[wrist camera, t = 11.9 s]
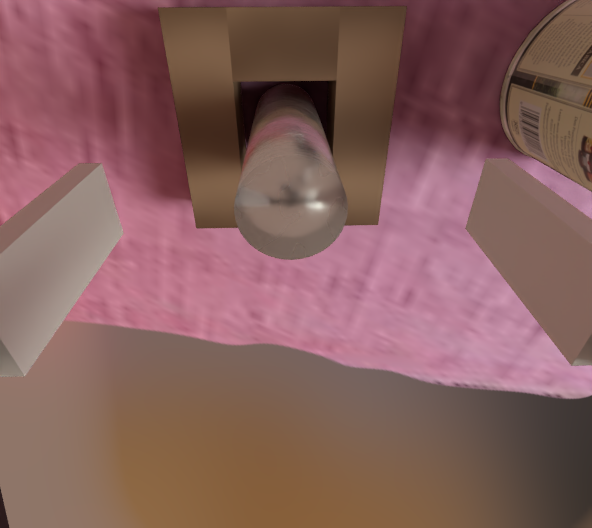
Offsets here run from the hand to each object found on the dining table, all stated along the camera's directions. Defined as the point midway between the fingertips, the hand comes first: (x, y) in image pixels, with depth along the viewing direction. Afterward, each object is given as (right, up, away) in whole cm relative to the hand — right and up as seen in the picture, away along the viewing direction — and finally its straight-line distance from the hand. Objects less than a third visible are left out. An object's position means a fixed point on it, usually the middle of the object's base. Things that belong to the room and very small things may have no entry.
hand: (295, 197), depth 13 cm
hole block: (-1, +7, +11) cm, 14 cm away
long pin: (-1, +7, +11) cm, 14 cm away
